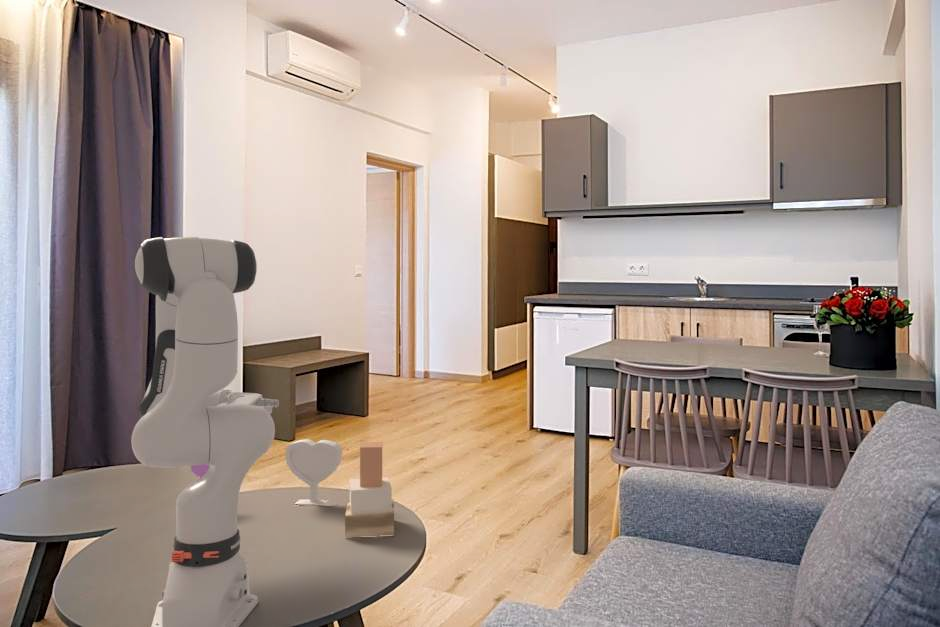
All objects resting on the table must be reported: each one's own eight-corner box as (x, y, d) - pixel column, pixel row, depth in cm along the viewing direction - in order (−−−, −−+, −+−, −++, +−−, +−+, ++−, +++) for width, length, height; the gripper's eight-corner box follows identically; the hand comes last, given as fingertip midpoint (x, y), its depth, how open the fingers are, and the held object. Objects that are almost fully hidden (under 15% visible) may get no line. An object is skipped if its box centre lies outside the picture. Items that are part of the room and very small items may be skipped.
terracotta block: (381, 486, 175) (381, 447, 174) (360, 486, 174) (360, 447, 174) (382, 480, 180) (382, 442, 180) (361, 480, 180) (361, 442, 179)
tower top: (391, 511, 174) (391, 488, 173) (351, 514, 172) (351, 490, 171) (387, 499, 183) (387, 477, 183) (349, 501, 181) (349, 479, 181)
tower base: (394, 537, 172) (394, 514, 172) (345, 539, 171) (345, 515, 171) (394, 521, 184) (394, 499, 184) (348, 523, 183) (348, 500, 182)
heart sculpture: (284, 504, 196) (284, 441, 196) (291, 499, 201) (290, 438, 201) (337, 507, 195) (337, 443, 194) (343, 501, 200) (342, 439, 199)
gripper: (204, 401, 156) (267, 400, 158) (226, 389, 177) (281, 388, 178) (205, 429, 156) (267, 427, 158) (226, 413, 177) (281, 412, 178)
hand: (275, 406), depth 168 cm, fingers open, 8 cm apart
